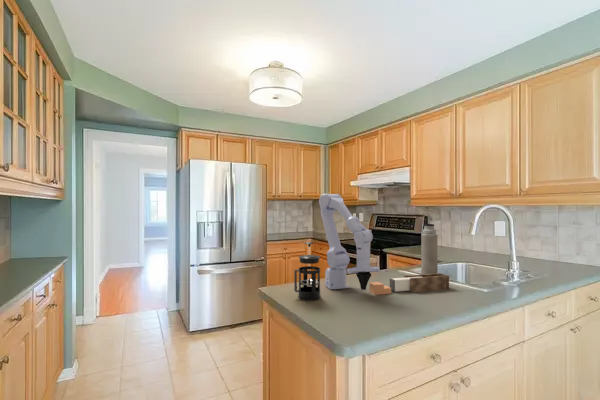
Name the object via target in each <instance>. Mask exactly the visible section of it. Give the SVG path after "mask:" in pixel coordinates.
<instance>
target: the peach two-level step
mask: <svg viewBox="0 0 600 400" xmlns="http://www.w3.org/2000/svg"><path fill="white" fill-rule="evenodd" d="M369 293H371V294H372V295H373V296H375V295H376V296H377V295H388V294H390V295H391V294H392V291H391V288H390V286H388V285H384V283H381V282H379V281H373V282H369Z"/></svg>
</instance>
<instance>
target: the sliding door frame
mask: <svg viewBox="0 0 600 400" xmlns="http://www.w3.org/2000/svg"><path fill="white" fill-rule="evenodd" d="M407 277H418V278H410V290H409V292H410V293H420V292H429V291H430V292H431V291H432V292H433V291H442V290H443V291H444V290H450V275H448V274H444V273H441V272H438V273H436V274H406V275H405V274H404V275H403V278H407Z"/></svg>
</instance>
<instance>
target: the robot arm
mask: <svg viewBox="0 0 600 400" xmlns="http://www.w3.org/2000/svg"><path fill="white" fill-rule="evenodd" d="M318 204H319V208H320V216H321V220H322V224H323V228H324V231H325V235H326V239H327V244H328V247H329V249H328V250H327V251H326V256H327V258H326V261H327V265H328V266H329V267H327V268H325V273H324V274H325V276H324V277H325V278H324V279H325V281H324V283H325V284H324V286H326V288H328V289H329V290H340V289H350V286H349V285H347V275H351V274H355V275H356V277H357V279H358V282H359V286H360V290H362V291H366V290H367V286H368V283H369V280H370V279H371V277H372V273H380V271H381V270H380V267H378V266H371V242H372V241H373V238H374V235H373V233H372V230H370V229H367V228H366V227H365V226H364V225H363V224H362V222H361V221H360V218H359V217H357V216H353V214H352V213H351V212H350V210H349V209H348V207H347V205H345V203H344V198H343V197H342V196H341V194H339V193H322V194H321V196H319V199H318ZM336 211H338V213H339V214H340V215H341V217H343V218H344V220H345V225H346V227H347V228H348V229H349V230H350V232H351V233H352V235H353V241H354V242H355V247H356V267H351V268H350V267H349V268H348V265H349V264H350V261H351V258H350V256H349V254H348V252H347V249H346V248H344V247H343V246H342V245H341V240H340V237H339V234H338V230H337V229H338V228H337V226H336V222H335V218H334V213H335V212H336Z"/></svg>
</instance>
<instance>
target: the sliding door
mask: <svg viewBox="0 0 600 400" xmlns="http://www.w3.org/2000/svg"><path fill="white" fill-rule="evenodd" d="M410 278H418V277H407V278H404V277H394V278H389V287H390V288H391V292H393V293H395V292H407V291H408V292H410Z"/></svg>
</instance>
